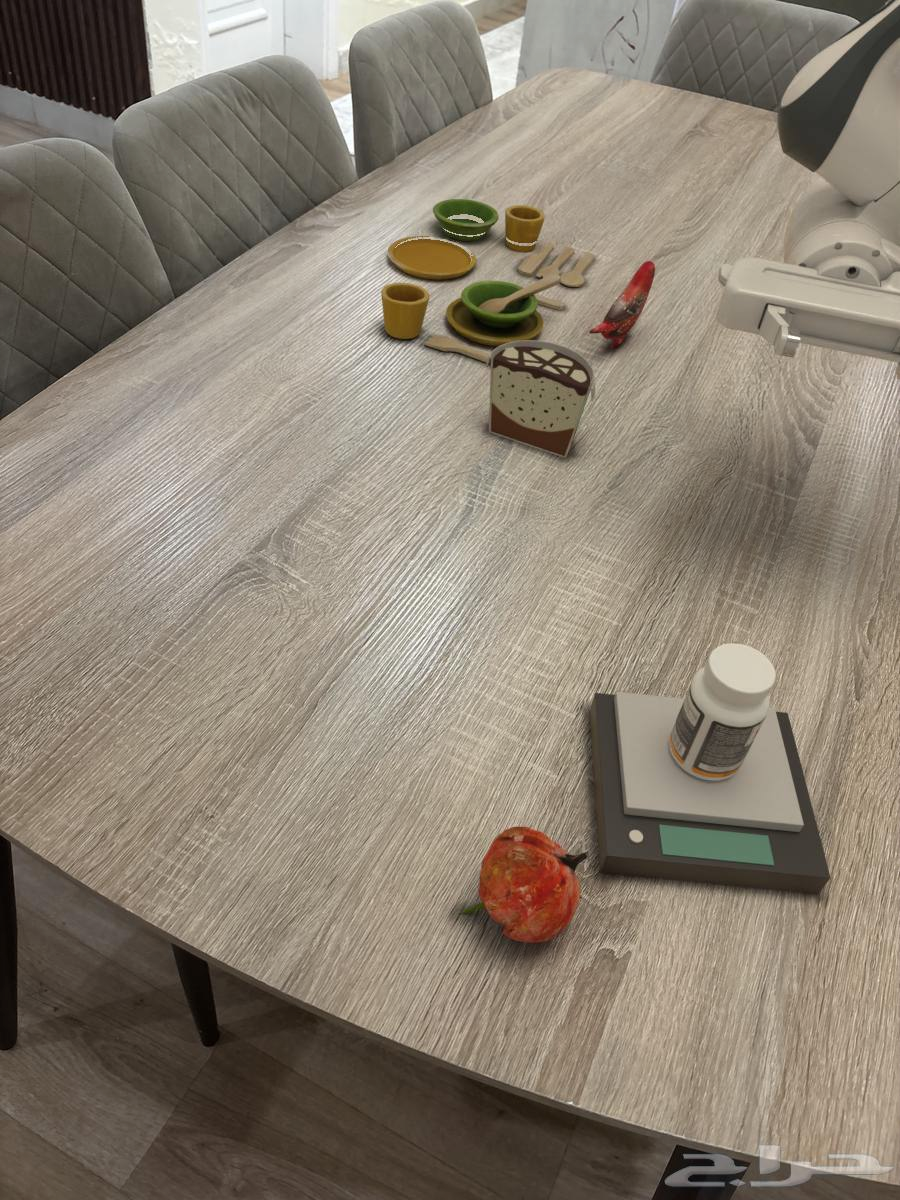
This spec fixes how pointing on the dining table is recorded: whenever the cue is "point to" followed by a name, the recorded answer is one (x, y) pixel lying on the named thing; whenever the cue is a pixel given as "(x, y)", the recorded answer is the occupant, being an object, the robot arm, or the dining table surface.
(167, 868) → the dining table surface
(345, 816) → the dining table surface
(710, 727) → the pill bottle
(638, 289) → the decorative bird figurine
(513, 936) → the pomegranate
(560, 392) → the cake slice cutout
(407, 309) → the tableware set
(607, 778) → the kitchen scale
